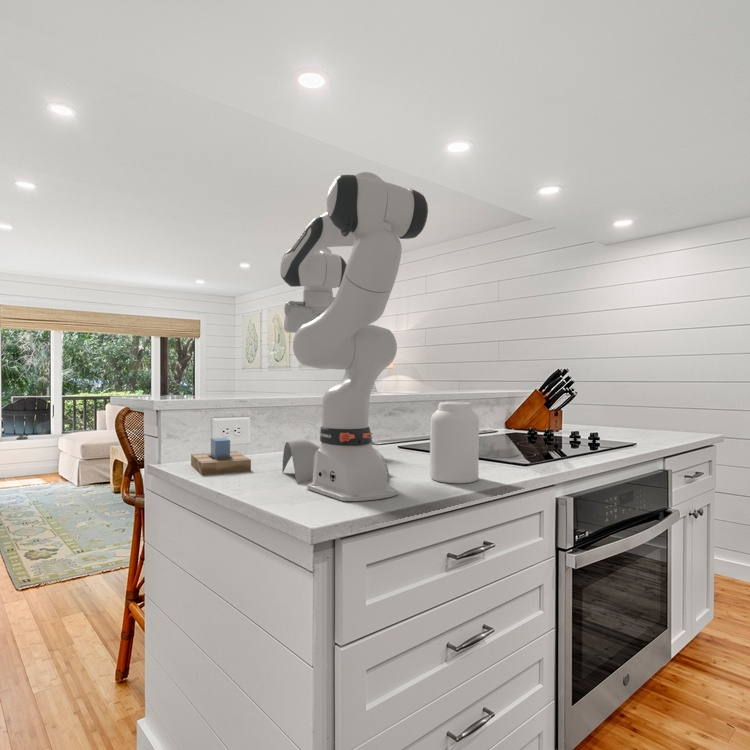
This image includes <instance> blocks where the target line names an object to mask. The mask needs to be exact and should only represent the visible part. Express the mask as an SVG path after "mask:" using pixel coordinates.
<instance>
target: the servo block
mask: <svg viewBox="0 0 750 750" xmlns="http://www.w3.org/2000/svg"><path fill="white" fill-rule="evenodd" d="M230 452H231V439H229V438H227V437H214V438H212V437H211V438H210V453H211V458H212V459H213V460H215V459H229V458H230Z"/></svg>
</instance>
